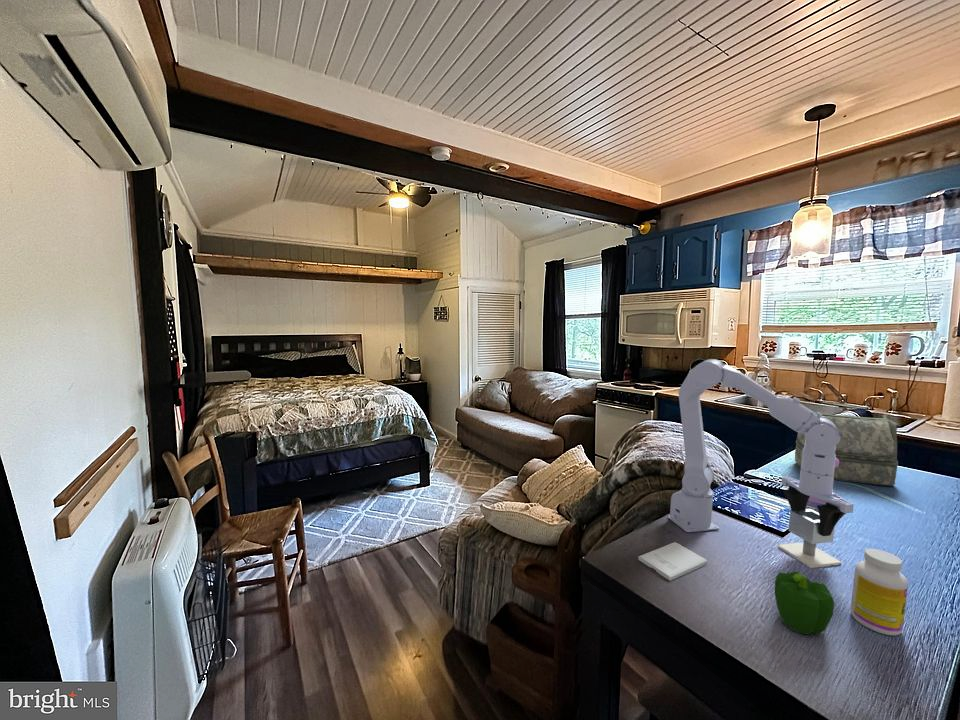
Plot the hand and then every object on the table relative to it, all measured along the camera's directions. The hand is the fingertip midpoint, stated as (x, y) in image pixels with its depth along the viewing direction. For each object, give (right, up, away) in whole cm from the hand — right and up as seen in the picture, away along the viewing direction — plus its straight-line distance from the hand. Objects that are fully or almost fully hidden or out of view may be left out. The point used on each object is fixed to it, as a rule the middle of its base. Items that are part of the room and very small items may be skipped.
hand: (811, 527), depth 90 cm
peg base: (0, -7, +1) cm, 7 cm away
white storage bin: (0, -2, 0) cm, 2 cm away
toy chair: (+27, -4, +31) cm, 41 cm away
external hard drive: (-33, -8, -2) cm, 34 cm away
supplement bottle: (-5, -9, -19) cm, 22 cm away
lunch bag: (+52, -2, +49) cm, 71 cm away
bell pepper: (-19, -9, -20) cm, 29 cm away
